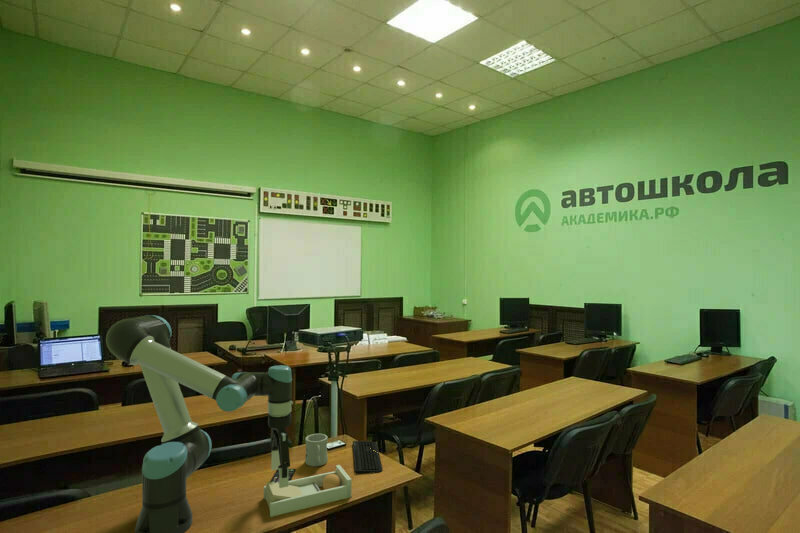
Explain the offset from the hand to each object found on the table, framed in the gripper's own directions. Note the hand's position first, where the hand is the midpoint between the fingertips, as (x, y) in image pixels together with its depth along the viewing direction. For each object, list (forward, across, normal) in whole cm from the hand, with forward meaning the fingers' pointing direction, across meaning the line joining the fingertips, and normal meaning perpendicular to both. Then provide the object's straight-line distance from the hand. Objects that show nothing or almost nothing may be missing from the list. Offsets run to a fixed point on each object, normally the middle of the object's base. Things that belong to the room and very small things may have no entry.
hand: (279, 477), depth 143 cm
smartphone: (+9, +18, -4) cm, 21 cm away
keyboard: (+10, +21, -40) cm, 46 cm away
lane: (+9, 0, -10) cm, 13 cm away
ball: (+6, 0, -18) cm, 19 cm away
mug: (+9, +24, -20) cm, 32 cm away
